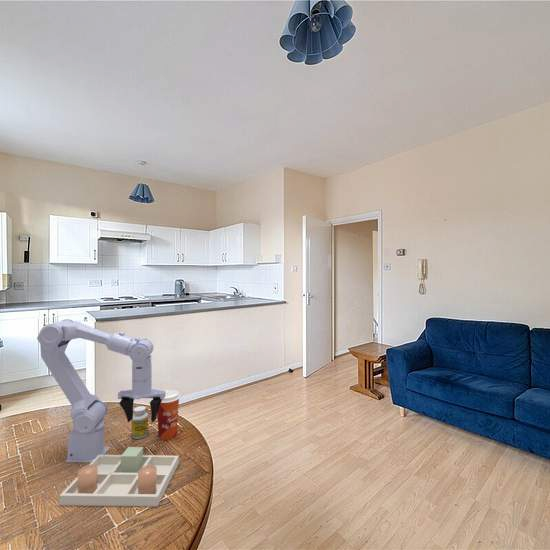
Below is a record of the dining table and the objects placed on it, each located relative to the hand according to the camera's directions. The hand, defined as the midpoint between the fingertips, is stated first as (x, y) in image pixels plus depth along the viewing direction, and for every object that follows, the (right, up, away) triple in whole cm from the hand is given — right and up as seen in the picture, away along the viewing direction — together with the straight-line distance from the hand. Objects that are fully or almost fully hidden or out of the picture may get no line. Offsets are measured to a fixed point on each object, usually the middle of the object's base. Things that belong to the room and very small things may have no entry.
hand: (142, 420), depth 96 cm
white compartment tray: (+2, -11, -14) cm, 18 cm away
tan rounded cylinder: (-6, -10, -18) cm, 22 cm away
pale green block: (+2, -10, -10) cm, 14 cm away
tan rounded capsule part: (+10, -10, -18) cm, 23 cm away
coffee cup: (+5, -11, +10) cm, 15 cm away
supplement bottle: (-5, -10, +10) cm, 15 cm away
